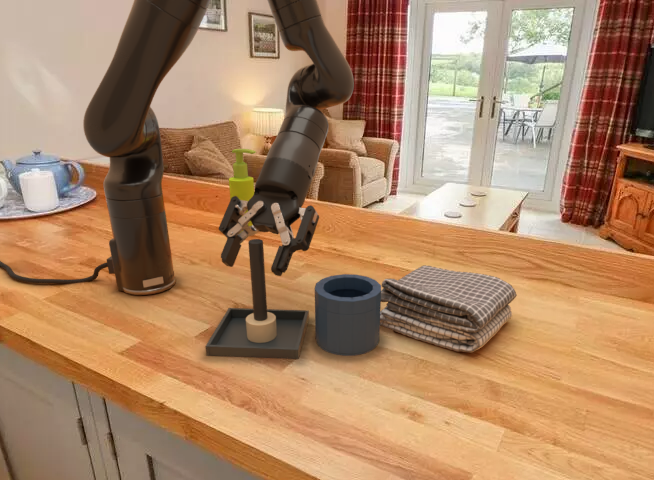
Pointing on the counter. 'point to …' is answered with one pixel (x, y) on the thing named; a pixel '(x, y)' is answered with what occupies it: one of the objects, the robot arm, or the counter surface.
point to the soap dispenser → (241, 179)
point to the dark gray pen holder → (347, 314)
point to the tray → (236, 344)
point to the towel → (447, 307)
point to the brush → (259, 298)
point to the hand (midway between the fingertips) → (250, 268)
